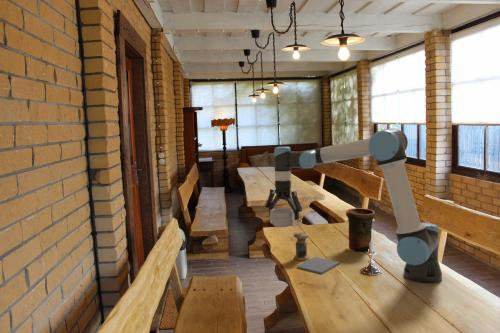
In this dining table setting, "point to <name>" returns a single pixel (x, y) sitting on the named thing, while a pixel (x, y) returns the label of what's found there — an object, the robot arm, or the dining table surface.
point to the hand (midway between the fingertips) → (283, 224)
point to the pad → (318, 265)
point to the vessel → (359, 229)
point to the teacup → (281, 217)
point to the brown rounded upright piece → (301, 247)
